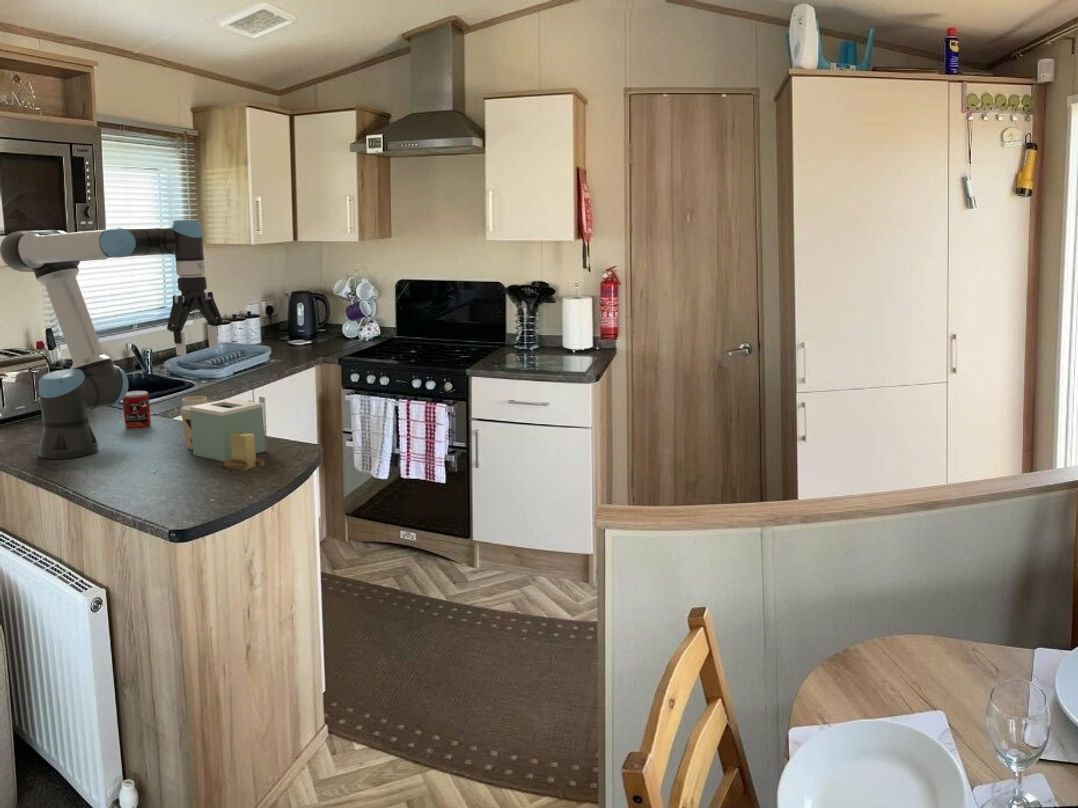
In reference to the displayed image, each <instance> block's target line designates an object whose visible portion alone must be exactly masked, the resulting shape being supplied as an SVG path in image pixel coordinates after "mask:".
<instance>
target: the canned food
mask: <svg viewBox="0 0 1078 808" xmlns="http://www.w3.org/2000/svg"><path fill="white" fill-rule="evenodd" d="M149 399H150V396H149V392H148V391H146V390H132V391H127V393H126V396H125V397H124V399H123V400H122V407H123V418H124V426H125V428H126V429H128V428H140V429H144V428H143V427H146V428H148V427H147V426H149V427H150V426H151V423H152V422H151V412H150V411H151V409H150V400H149Z"/></svg>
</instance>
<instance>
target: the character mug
mask: <svg viewBox="0 0 1078 808" xmlns="http://www.w3.org/2000/svg"><path fill="white" fill-rule="evenodd" d="M181 403H182V404H181V407H180V410H181V409H182V407H184V406H187V405H192V404H205V403H210V402H209V401H208V397H207V396H204V395H203V396H202V395H199V396H194V395H193V396H187V397H183V398H181ZM180 417H182V413H181V412H180Z"/></svg>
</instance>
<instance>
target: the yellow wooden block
mask: <svg viewBox="0 0 1078 808" xmlns="http://www.w3.org/2000/svg"><path fill="white" fill-rule="evenodd" d="M230 435H231V449H232V460H231V461H236V462H241V463H245V464H249V469H253V468H256V467H257V466H256V458H257V456H256V454H257V453H256V454H255V440H254V434H250V433H245V432H240V431H239V432H235V433H231V434H230Z"/></svg>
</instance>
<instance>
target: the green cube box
mask: <svg viewBox="0 0 1078 808" xmlns="http://www.w3.org/2000/svg"><path fill="white" fill-rule="evenodd" d="M190 419H191V431H192V443H193V450H192V452H193V456H199V457H202V458H206V459H210V460H211V459H212V460H216V461H220V462H224V461H227V460H231V461H232V449H231V435H230V434H231V433H235V432H239V431H240V432H245V433H250V434H254V440H255V454H260V453H262V452H266V439H265V437H266V435H265V425H264V421H265V419H264V406H263V403H260V402H256V401H250V400H244V399H236V398H232V397H231V398H226V399H221V400H216V401H210V402H209V403H205V404H200V405H195V406H190Z"/></svg>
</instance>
